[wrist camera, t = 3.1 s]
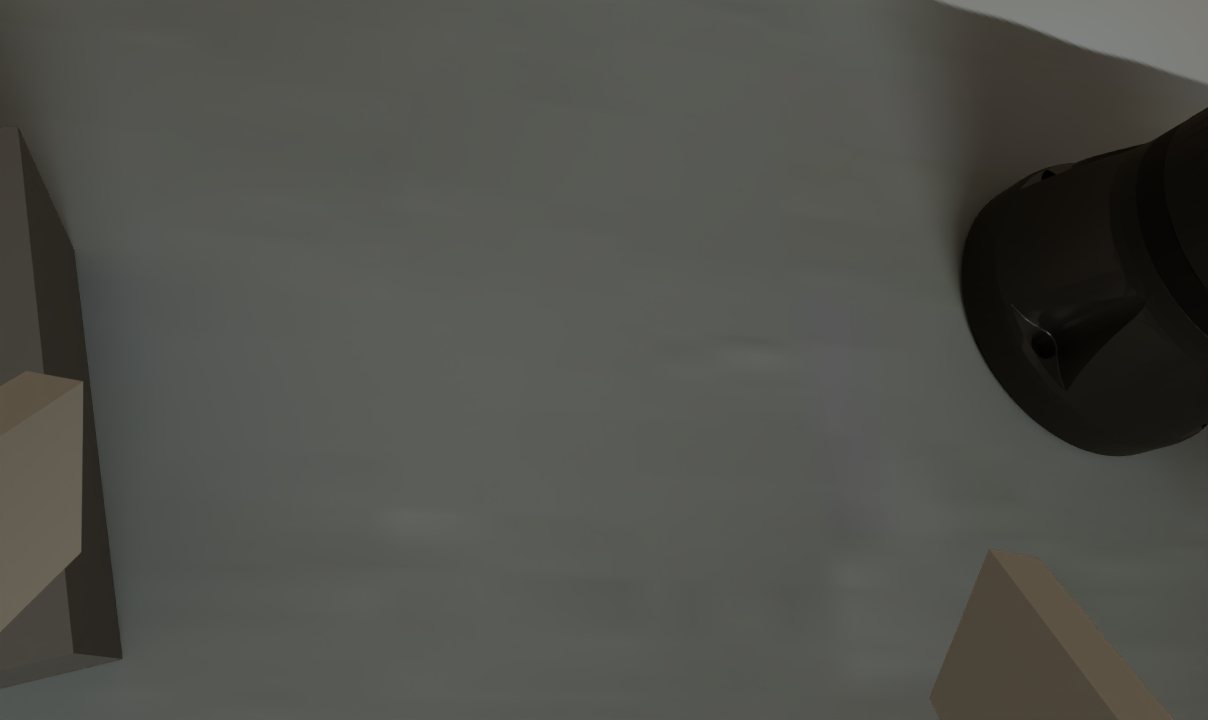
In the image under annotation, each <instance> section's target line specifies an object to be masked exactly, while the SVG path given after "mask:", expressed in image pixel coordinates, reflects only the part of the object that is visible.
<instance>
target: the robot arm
mask: <svg viewBox="0 0 1208 720" xmlns="http://www.w3.org/2000/svg"><path fill="white" fill-rule="evenodd" d="M962 272H963V290H964V297H965V303H966V308H967V312H968V316H969V319H970V323H971V326H972V329H973V332H974V334H975V337H976V339H977V342H978V344H979V346H980V348H981V351H982V353H983V355H984V357H985V358H986V360H987V362H988V364H989V366H990V367H991V369H992V371H993V372H994V374H995V376H996V377H997V378H998V380H999V381H1000V383H1001V384H1002V386H1003V387H1004V388H1005V390H1006V391H1007V392H1008V393H1009V395H1010V396H1011V397H1012V398H1013V399H1014V401H1015V402H1016V403H1017V404H1018V405H1019V406H1020V407H1021V408H1022V409H1023V410H1024V411H1025V412H1026V413H1027V414H1028V415H1029V416H1030V417H1031V418H1032V419H1033V420H1035V421H1036V422H1037V423H1038V424H1040V425H1041V426H1042V427H1043V428H1045V429H1046V430H1048V431H1049V432H1050V433H1052V434H1053V435H1055V436H1057V437H1058V438H1060V439H1062V440H1063V441H1065V442H1067V443H1069V444H1071V445H1073V446H1076V447H1078V448H1080V449H1083V450H1086V451H1089V452H1093V453H1096V454H1101V455H1108V456H1129V455H1135V454H1139V453H1143V452H1147V451H1151V450H1155V449H1159V448H1163V447H1167V446H1170V445H1174V444H1177V443H1179V442H1181V441H1184V440H1186V439H1188V438H1190V437H1192V436H1194V435H1195V434H1197V433H1199V432H1200V431H1201V430H1202V429H1204V428H1205V427H1206V426H1207V425H1208V108H1206V109H1204V110H1203V111H1201V112H1199V113H1197V114H1196V115H1194V116H1192V117H1191V118H1189V119H1188V120H1186V121H1185V122H1183V123H1181V124H1180V125H1178V126H1176V127H1175V128H1173V129H1171V130H1170V131H1168V132H1166V133H1164V134H1163V135H1161V136H1159V137H1158V138H1156V139H1154V140H1153V141H1151V142H1148V143H1145V144H1141V145H1137V146H1133V147H1129V148H1124V149H1120V150H1116V151H1112V152H1109V153H1105V154H1101V155H1097V156H1094V157H1091V158H1087V159H1085V160H1082V161H1079V162H1077V163H1067V164H1060V165H1056V166H1052V167H1048V168H1045V169H1042V170H1039V171H1037V172H1035V173H1033V174H1031V175H1029V176H1027V177H1025V178H1024V179H1022V180H1020V181H1019V182H1017V183H1016V184H1014V185H1013V186H1011V187H1010V188H1008V189H1007V190H1005V191H1004V192H1002V193H1001V194H999V195H997V196H996V197H995V198H993V199H992V200H991V201H990V202H989V203H988V204H987V205H986V206H985V207H984V208H983V209H982V210H981V212H980V213H979V215H978V216H977V218H976V219H975V221H974V223H973V225H972V227H971V229H970V232H969V235H968V238H967V241H966V245H965V250H964V256H963V269H962ZM82 447H83V381H78V380H73V379H67V378H62V377H56V376H51V375H46V374H40V373H35V372H29V371H26V372H24V373H22V374H20V375H19V376H17V377H15V378H13V379H12V380H10V381H8V382H6V383H5V384H3V385H1V386H0V632H1V631H2V630H3V629H4V628H5V627H6V626H7V625H8V624H9V623H10V622H11V621H12V620H13V619H14V618H15V617H16V616H17V615H18V614H19V613H20V612H21V611H22V610H23V609H24V608H25V607H26V606H27V605H28V604H29V603H30V602H31V601H32V600H33V599H34V598H35V597H36V596H37V595H38V594H39V593H40V592H41V591H42V590H43V589H44V588H45V587H46V586H47V585H48V584H49V583H50V582H51V581H52V580H53V579H54V578H55V577H56V576H57V575H58V574H59V573H60V572H61V571H63V570H64V569H65V568H66V567H67V566H68V565H69V564H70V563H71V562H72V561H73V560H74V559H75V558H76V557H77V556H78V555H79V554H80V553H81V527H82ZM930 700H931V702H932V704H933V706H934V708H935V710H936V712H937V714H938V716H939V718H940V720H1173V719H1172V717H1171V716H1170V715H1169V714H1168V713H1167V711H1166V710H1165V709H1164V708H1163V707H1162V705H1161V704H1160V703H1159V702H1158V701H1157V699H1156V698H1155V697H1154V696H1153V695H1152V693H1151V692H1150V691H1149V690H1148V689H1147V687H1146V686H1145V685H1144V684H1143V683H1142V681H1141V680H1140V679H1139V678H1138V677H1137V675H1136V674H1135V673H1134V672H1133V671H1132V669H1131V668H1130V667H1129V666H1128V665H1127V663H1126V662H1125V661H1124V660H1123V659H1122V657H1121V656H1120V655H1119V654H1118V653H1117V651H1116V650H1115V649H1114V648H1113V647H1112V645H1111V644H1110V643H1109V642H1108V641H1107V639H1106V638H1105V637H1104V636H1103V635H1102V633H1101V632H1100V631H1099V630H1098V629H1097V627H1096V626H1095V625H1094V624H1093V623H1092V621H1091V620H1090V619H1089V618H1088V617H1087V615H1086V614H1085V613H1084V612H1083V611H1082V609H1081V608H1080V607H1079V606H1078V605H1077V603H1076V602H1075V601H1074V600H1073V599H1072V597H1071V596H1070V595H1069V594H1068V593H1067V591H1066V590H1065V589H1064V588H1063V587H1062V585H1061V584H1060V583H1059V582H1058V581H1057V579H1056V578H1055V577H1054V576H1053V575H1052V573H1051V572H1050V571H1049V570H1048V569H1047V567H1046V566H1045V565H1044V564H1043V563H1042V561H1041V560H1040V559H1039V558H1037V557H1031V556H1026V555H1020V554H1015V553H1010V552H1004V551H999V550H993V549H989V551H988V553H987V556H986V558H985V561H984V563H983V566H982V568H981V571H980V573H979V576H978V578H977V581H976V583H975V586H974V588H973V591H972V593H971V596H970V598H969V601H968V603H967V606H966V608H965V611H964V613H963V616H962V618H961V621H960V623H959V626H958V628H957V631H956V633H955V636H954V638H953V641H952V643H951V646H950V648H949V651H948V653H947V655H946V658H945V660H944V663H943V665H942V668H941V670H940V673H939V675H938V678H937V680H936V683H935V685H934V688H933V690H932V693H931V695H930Z"/></svg>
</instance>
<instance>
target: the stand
mask: <svg viewBox="0 0 1208 720" xmlns="http://www.w3.org/2000/svg"><path fill="white" fill-rule="evenodd" d="M26 371H29V372H35V373H40V374H46V375H51V376H56V377H62V378H67V379H73V380H78V381H83V447H82V527H81V553H80V554H79V555H78V556H77V557H76V558H75V559H74V560H73V561H72V562H71V563H70V564H69V565H68V566H67V567H66V568H65V569H64V570H63V571H61V572H60V573H59V574H58V575H57V576H56V577H55V578H54V579H53V580H52V581H51V582H50V583H49V584H48V585H47V586H46V587H45V588H44V589H43V590H42V591H41V592H40V593H39V594H38V595H37V596H36V597H35V598H34V599H33V600H32V601H31V602H30V603H29V604H28V605H27V606H26V607H25V608H24V609H23V610H22V611H21V612H20V613H19V614H18V615H17V616H16V617H15V618H14V619H13V620H12V621H11V622H10V623H9V624H8V625H7V626H6V627H5V628H4V629H3V630H2V631H1V632H0V688H4V687H8V686H12V685H16V684H20V683H25V682H29V681H33V680H37V679H41V678H45V677H50V676H54V675H58V674H62V673H66V672H70V671H74V670H79V669H83V668H87V667H91V666H95V665H99V664H104V663H108V662H112V661H116V660H120V659H122V652H121V644H120V635H119V627H118V618H117V610H116V601H115V593H114V585H113V576H112V568H111V559H110V551H109V542H108V534H107V525H106V517H105V508H104V500H103V491H102V483H101V474H100V466H99V457H98V449H97V440H96V432H95V423H94V415H93V406H92V398H91V389H90V381H89V372H88V364H87V355H86V347H85V338H84V330H83V322H82V313H81V305H80V296H79V288H78V279H77V271H76V262H75V254H74V249H73V247H72V245H71V243H70V240H69V238H68V236H67V234H66V232H65V229H64V227H63V225H62V223H61V220H60V218H59V216H58V214H57V212H56V209H55V207H54V205H53V203H52V201H51V198H50V196H49V194H48V192H47V190H46V187H45V185H44V183H43V181H42V179H41V176H40V174H39V172H38V170H37V168H36V165H35V163H34V161H33V159H32V156H31V154H30V152H29V150H28V148H27V145H26V143H25V141H24V139H23V137H22V134H21V132H20V130H19V128H18V126H17V127H0V386H1V385H3V384H5V383H6V382H8V381H10V380H12V379H13V378H15V377H17V376H19V375H20V374H22V373H24V372H26Z"/></svg>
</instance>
